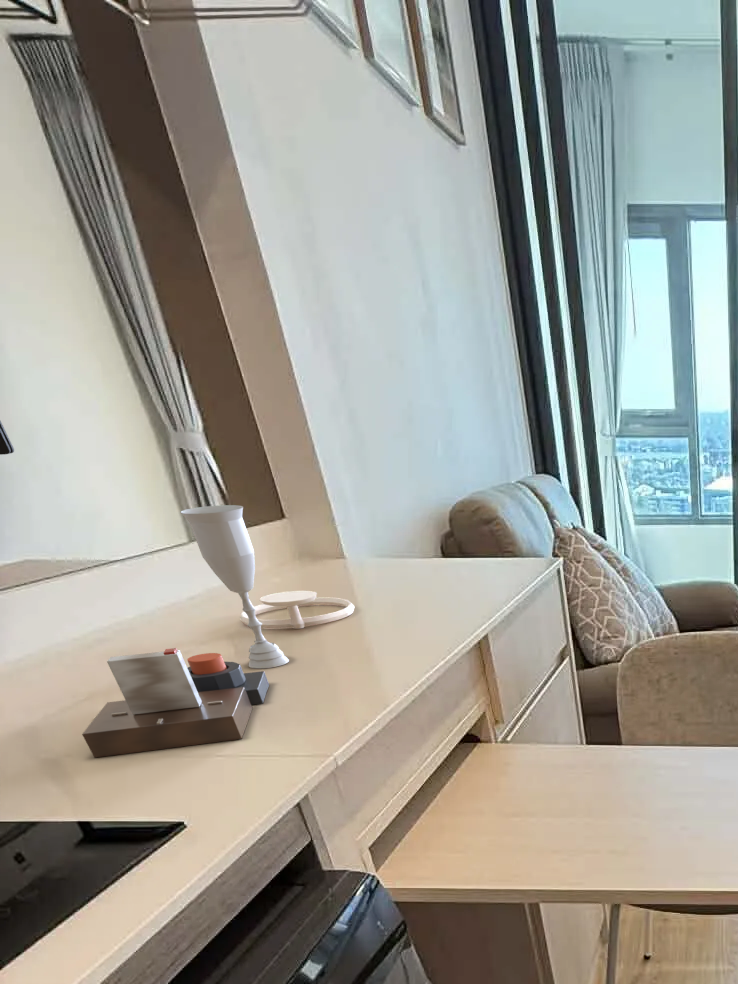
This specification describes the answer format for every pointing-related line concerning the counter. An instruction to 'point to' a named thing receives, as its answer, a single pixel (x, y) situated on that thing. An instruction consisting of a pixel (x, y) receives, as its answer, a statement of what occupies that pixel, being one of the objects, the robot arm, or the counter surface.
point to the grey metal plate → (155, 681)
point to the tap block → (169, 724)
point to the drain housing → (234, 681)
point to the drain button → (206, 663)
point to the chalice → (233, 567)
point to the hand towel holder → (292, 602)
